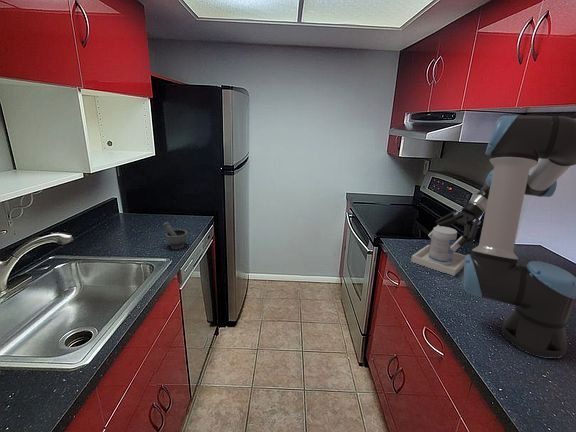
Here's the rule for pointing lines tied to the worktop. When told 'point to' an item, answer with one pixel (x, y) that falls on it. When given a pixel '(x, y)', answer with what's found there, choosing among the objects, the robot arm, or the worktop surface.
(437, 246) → the supplement tub
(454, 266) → the tray
